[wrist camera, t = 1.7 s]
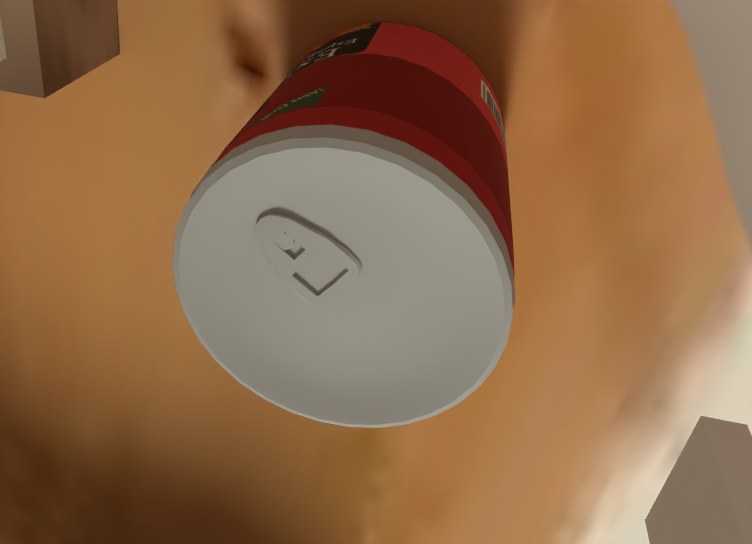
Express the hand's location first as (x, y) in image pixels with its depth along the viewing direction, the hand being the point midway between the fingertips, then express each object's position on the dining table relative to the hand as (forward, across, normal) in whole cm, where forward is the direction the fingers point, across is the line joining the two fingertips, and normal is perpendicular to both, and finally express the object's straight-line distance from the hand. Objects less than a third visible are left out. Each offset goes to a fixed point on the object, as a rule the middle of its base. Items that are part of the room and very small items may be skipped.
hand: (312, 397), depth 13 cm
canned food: (+15, 0, 0) cm, 15 cm away
